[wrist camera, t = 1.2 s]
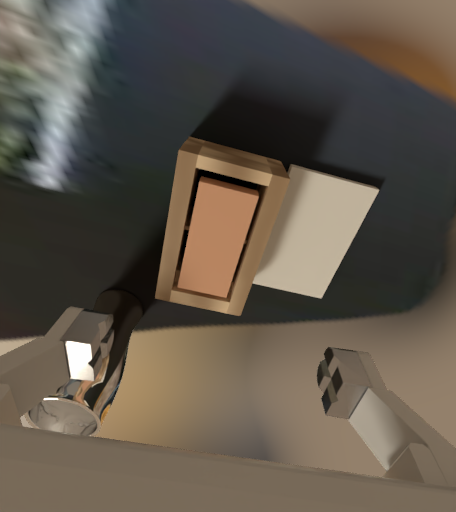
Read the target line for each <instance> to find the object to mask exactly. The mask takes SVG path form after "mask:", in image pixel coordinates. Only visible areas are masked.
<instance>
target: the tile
mask: <svg viewBox="0 0 456 512" xmlns="http://www.w3.org/2000/svg"><path fill="white" fill-rule="evenodd" d="M258 198H259V194H258V191H257V190H254V189H250V188H246V187H242V186H238V185H234V184H230V183H226V182H222V181H219V180H215V179H211V178H207V177H203V176H201V178H200V181H199V185H198V190H197V195H196V200H195V205H194V210H193V214H192V219H191V224H190V229H189V234H188V239H187V243H186V248H185V253H184V258H183V263H182V268H181V272H180V277H179V282H178V288H183V289H187V290H192V291H197V292H201V293H206V294H211V295H215V296H220V297H225V298H226V297H227V294H228V291H229V288H230V285H231V282H232V279H233V276H234V272H235V269H236V266H237V263H238V260H239V257H240V254H241V251H242V248H243V244H244V241H245V238H246V235H247V232H248V229H249V226H250V223H251V220H252V216H253V213H254V210H255V207H256V204H257V201H258Z"/></svg>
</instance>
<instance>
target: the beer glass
mask: <svg viewBox="0 0 456 512" xmlns="http://www.w3.org/2000/svg"><path fill="white" fill-rule="evenodd" d="M93 310H94V311H100V312H106V313H111V314H112V315H113V323H112V325H111V328H112V329H113V330H114V339H113V344H112V347H111V350H110V352H109V354H108V356H106V357H105V358H103V359H102V368H101V369H100V371H99V373H98V375H97V377H96V379H95V381H87V380H79V379H70V378H69V379H70V380H69V381H67V382H66V383H65V384H64V385H62V386H61V387H60V388H58V389H57V390H56V391H54V392H53V393H52V394H50V395H49V396H48V397H46V398H45V399H44V400H42V401H41V402H40V403H38V404H37V405H36V406H34V407H33V408H32V409H30V410H29V411H28V412H27V413H25V414H24V415H25V418H26V420H27V421H28V423H29V424H30V425H31V426H33V427H34V428H36V429H43V430H50V431H57V432H64V433H71V434H78V435H85V436H92V437H93V436H95V435H96V434H97V433H98V432H99V431H100V429H101V426H102V423H103V421H104V419H105V417H106V415H107V413H108V411H109V409H110V407H111V405H112V402H113V400H114V397H115V395H116V393H117V391H118V388H119V385H120V382H121V379H122V376H123V372H124V367H125V363H126V357H127V352H128V345H129V340H130V337H131V334H132V332H133V330H134V328H135V326H136V325H137V324H138V322H139V321H140V319H141V317H142V315H143V307H142V304H141V302H140V301H139V300H138V299H137V298H136V297H135V296H134V295H132V294H131V293H129V292H126V291H123V290H117V289H113V290H108V291H105V292H103V293H102V294H100V295H99V297H98V298H97V300H96V302H95V305H94V308H93Z"/></svg>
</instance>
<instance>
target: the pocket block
mask: <svg viewBox="0 0 456 512" xmlns="http://www.w3.org/2000/svg"><path fill="white" fill-rule="evenodd" d="M199 169H203V170H207V171H211V172H215V173H218V174H222V175H226V176H230V177H234V178H238V179H242V180H245V181H249V182H253V183H257V188H256V190H257V191H258V194H259V198H258V201H257V204H256V207H255V210H254V213H253V216H252V220H251V223H250V226H249V229H248V232H247V235H246V238H245V241H244V244H243V248H242V251H241V254H240V257H239V260H238V263H237V266H236V269H235V272H234V276H233V279H232V282H231V285H230V288H229V291H228V294H227V297H226V298H225V297H220V296H215V295H211V294H206V293H201V292H197V291H192V290H187V289H183V288H178V282H179V277H180V272H181V268H182V263H183V258H184V253H185V248H183V247H184V242H185V238H186V233H187V230H189V229H190V224H191V219H192V214H193V210H194V208H192V203H193V198H194V193H195V188H196V183H197V178H198V173H199ZM289 182H290V177H289V176H288V174H287V172H286V170H285V168H284V166H283V164H282V163H281V161H278V160H275V159H271V158H267V157H263V156H260V155H256V154H252V153H249V152H245V151H241V150H238V149H234V148H230V147H227V146H223V145H219V144H215V143H212V142H208V141H204V140H201V139H197V138H193V137H190V136H189V138H188V139H187V140H186V141H185V143H184V144H183V145H182V146H181V148H180V149H179V152H178V158H177V164H176V171H175V177H174V183H173V189H172V195H171V202H170V208H169V214H168V220H167V226H166V232H165V239H164V245H163V251H162V257H161V263H160V270H159V276H158V282H157V288H156V294H155V299H160V300H165V301H170V302H174V303H179V304H184V305H189V306H194V307H198V308H203V309H208V310H213V311H217V312H222V313H227V314H232V315H237V316H240V315H241V313H242V310H243V307H244V304H245V302H246V299H247V296H248V294H249V291H250V288H251V285H252V283H253V280H254V277H255V275H256V272H257V269H258V266H259V264H260V261H261V258H262V255H263V253H264V250H265V247H266V245H267V242H268V239H269V236H270V234H271V231H272V228H273V226H274V223H275V220H276V217H277V215H278V212H279V209H280V207H281V204H282V201H283V198H284V196H285V193H286V190H287V187H288V185H289Z"/></svg>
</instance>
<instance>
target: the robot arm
mask: <svg viewBox="0 0 456 512" xmlns="http://www.w3.org/2000/svg"><path fill="white" fill-rule="evenodd" d="M112 323H113V315H112V314H111V313H106V312H100V311H94V310H89V309H81V308H76V307H69V308H67V309H66V311H65V312H64V313H63V314H62V315H61V317H60V318H59V319H58V320H57V322H56V323H55V324H54V325H53V327H52V328H51V329H50V330H49V331H48V333H47V334H46V335H45V336H44V338H37V339H35V340H33V341H31V342H29V343H27V344H24V345H22V346H20V347H18V348H16V349H14V350H12V351H10V352H8V353H6V354H4V355H2V356H0V512H456V448H455V447H453V445H451V444H450V443H449V442H448V441H447V440H446V439H445V438H444V437H442V436H441V435H440V434H439V433H438V432H437V431H436V430H435V429H434V428H432V427H431V426H430V425H429V424H428V423H427V422H426V421H425V420H423V419H422V418H421V417H420V416H419V415H418V414H417V413H416V412H414V411H413V410H412V409H411V408H410V407H409V406H408V405H407V404H406V403H405V402H403V401H402V400H401V399H400V398H399V397H398V396H397V395H396V394H394V393H393V392H392V391H390V390H387V388H386V386H385V384H384V382H383V380H382V378H381V376H380V374H379V371H378V369H377V367H376V365H375V363H374V361H373V359H372V357H371V355H370V354H369V353H367V352H361V351H353V350H346V349H339V348H332V347H328V348H327V349H326V351H325V353H324V356H325V359H324V360H323V361H321V362H320V364H319V366H318V370H317V382H318V386H319V388H320V389H321V391H322V392H323V393H324V394H323V396H322V398H321V399H322V403H323V407H324V411H325V415H327V416H332V417H338V418H344V419H349V422H350V423H351V425H352V426H353V427H354V429H355V430H356V431H357V433H358V434H359V435H360V437H361V438H362V439H363V441H364V442H365V443H366V445H367V446H368V447H369V449H370V450H371V451H372V453H373V454H374V455H375V457H376V458H377V459H378V460H379V462H380V463H381V465H382V466H383V467H384V468H385V470H386V473H385V474H384V475H383V476H382V477H377V476H370V475H363V474H356V473H349V472H342V471H335V470H327V469H320V468H313V467H305V466H299V465H291V464H284V463H277V462H270V461H263V460H256V459H249V458H241V457H234V456H227V455H220V454H213V453H206V452H198V451H192V450H185V449H178V448H170V447H163V446H156V445H149V444H142V443H135V442H128V441H120V440H114V439H107V438H99V437H92V436H85V435H78V434H71V433H64V432H57V431H50V430H43V429H36V428H28V427H23V426H22V423H21V420H20V417H21V416H23V415H24V414H25V413H27V412H28V411H29V410H30V409H32V408H33V407H34V406H36V405H37V404H38V403H40V402H41V401H42V400H44V399H45V398H46V397H48V396H49V395H50V394H52V393H53V392H54V391H56V390H57V389H58V388H60V387H61V386H62V385H64V384H65V383H66V382H67V381H69V380H70V379H79V380H87V381H95V379H96V377H97V375H98V373H99V371H100V369H101V368H102V359H103V358H105V357H106V356H108V354H109V352H110V350H111V347H112V344H113V339H114V330H113V329H112V328H111V325H112ZM69 378H70V379H69Z"/></svg>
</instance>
